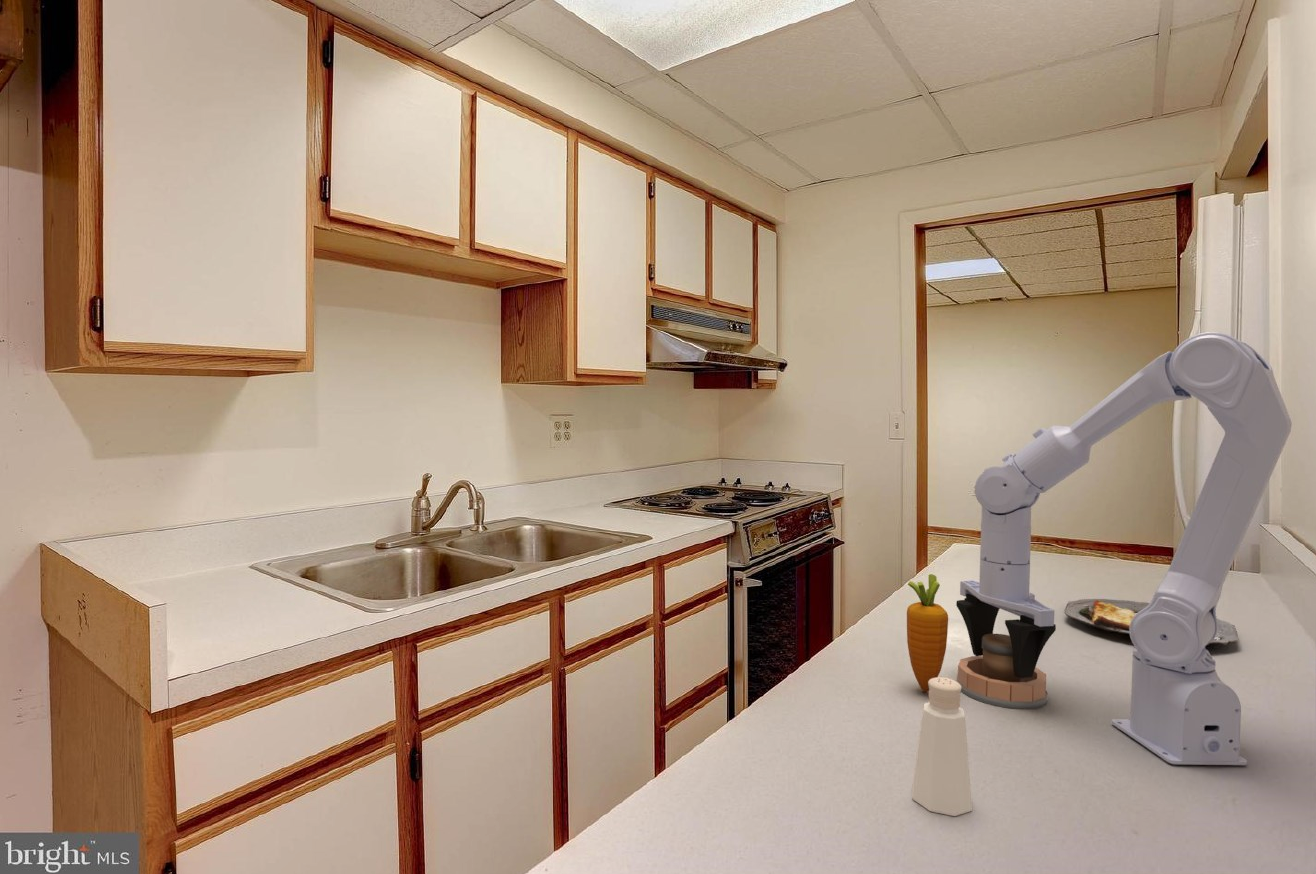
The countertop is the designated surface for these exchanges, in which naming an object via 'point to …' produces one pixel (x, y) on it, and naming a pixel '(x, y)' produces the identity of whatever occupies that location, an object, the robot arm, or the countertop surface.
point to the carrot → (926, 633)
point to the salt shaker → (943, 752)
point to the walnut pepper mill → (998, 658)
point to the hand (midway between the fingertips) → (1001, 665)
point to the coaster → (1001, 687)
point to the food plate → (1127, 617)
